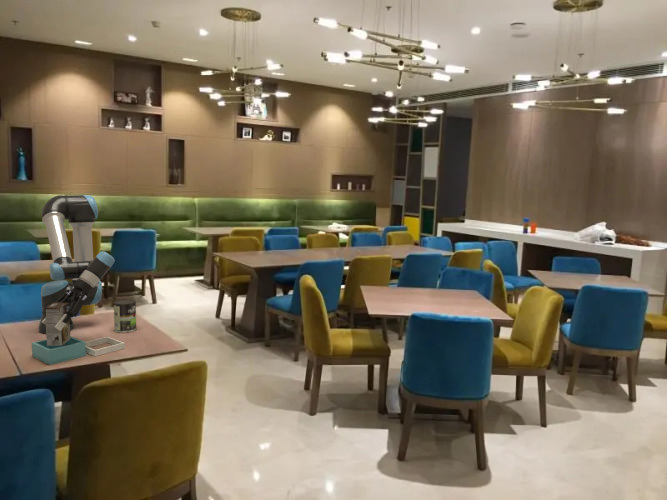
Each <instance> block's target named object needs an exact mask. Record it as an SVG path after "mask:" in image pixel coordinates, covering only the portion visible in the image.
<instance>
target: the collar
mask: <svg viewBox="0 0 667 500" xmlns="http://www.w3.org/2000/svg"><path fill="white" fill-rule="evenodd" d="M84 342H85V348H86V354H89V355H90V356H93V357H97V356H101V355H105V354H110V353H113V352H116V351H120V350H123V349H126V343H125V342H123V341H121V340H118V339H116V338H113V337H110V336H104V337H100V338H94V339H91V340H86V341H84ZM103 344H109V345H107V346H105V347H102V348H101V347H100V348H97V349H94V348H92V347H94V346H95V347H96V346H97V345H103Z"/></svg>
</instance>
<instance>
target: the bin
mask: <svg viewBox="0 0 667 500" xmlns="http://www.w3.org/2000/svg"><path fill="white" fill-rule="evenodd" d="M85 342H86V341H84V340H81V339H79V338H77V337H75V336H72V335H71V339H70V340H69V341H68V342H66V343H65V344H64V345H63V346H47V338H46V339H42V340H38V341H33V342H31V354H32V356H33V357H32V358H34V357H35V359H36V358H37V360H38V359H39V361H40V362H42V363H45V364H47V365H49V366H50V365H51V366H52V365H54V364H55V365H56V364H59V363H63V362H67V361H70V360H74V359H77V358H82V357H86V355H87V353H86V348H85Z"/></svg>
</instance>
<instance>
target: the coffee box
mask: <svg viewBox="0 0 667 500" xmlns="http://www.w3.org/2000/svg"><path fill="white" fill-rule="evenodd" d="M68 310H69V303H61V302H55V303H52V304H50V305H49V306H47V307H45V319H46V334H45V335H46V339H47V346H63V345H64V344H65V343H66V342H68V341H69V340H70V339H71V336H72V335H71V330H70V320H69V321H68V322H67V323H66V325H65V326H64V327H63V328H62V330H61V331H59V330H58V329H57V328H55V326H56V325H57V323H58V322H59V321H60V320H61V318H62V317H63V316H64V315H65V314H66V312H68ZM67 315H68V314H67Z"/></svg>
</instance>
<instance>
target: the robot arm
mask: <svg viewBox="0 0 667 500" xmlns="http://www.w3.org/2000/svg"><path fill="white" fill-rule="evenodd" d="M98 208H99V207H98V205H97V201H96V199H95V197H94V196H92V195H86V194H73V195H72V194H70V195H68V194H67V195H65V194H64V195H63V194H61V195H55V196H53V197H51V198H50V199H48V200H47V201H46V202H45V204H44V206H43V208H42V210H41V220H42V221H41V222H42V224H44V225H45V227H46V234H47V238H48V244H49V246H50V253H51V257H52V262H53V263H52V262H51V263H50V265H49V276H50V279H51V280H52V281H49V282H46V283H44V284H42V286H41V288H40V297H41V318H40V321H39V325H38V332H39V333H41V334H45V335H46V319H45V307H47V306H49V305H50V304H52V303H55V302H61V303H69V310H68V312H66V314H65V315H64V316H63V317H62V318H61V320H60V321H59V322H58V323H57V325H56V326H55V328H57V329H58V330H59V331H61V330H62V328H63V327H64V326H65V325H66V323H67V322H68V321H69V320H70V331H72V330H73V329H74V328H75V327H74V326H75V325H74V321H73V319H72V318H73V317H74V318H77V316H78V315H79V313H80V311H81V310H82V308H83V307H84V306H91V305H97V304H98V303H99V302H100V301H101V299H102V294H103V286H102V285H103V283H102V281H101V280H102V278H103V277H105V275H106V274H107V272H108V271H109V270H110V268H112V266H113V265H114V263H115V261H116V260H115V258H114V257H113V256H112V255H111V254H109V253H108V252H106V251H100V252H99V253H98V254H97V255H96V256H95V258H94V250H93V249H94V248H93V246H94V245H93V233H92V232H93V230H92V229H93V227H92V226H93V225H94V224H95V223H96V222H95V221H96V220H97V219H98V218H99V210H98ZM65 220H68V224H69V225H70V226H71V227H72V228H71V229H72V241H73V258H72V255H71V254H72V253H71V250H70V245H69V240H68V237H67V232H66V227H65V223H64V222H65ZM73 260H74V261H73ZM68 280H71V282H69V281H68ZM67 314H68V315H67Z"/></svg>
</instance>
